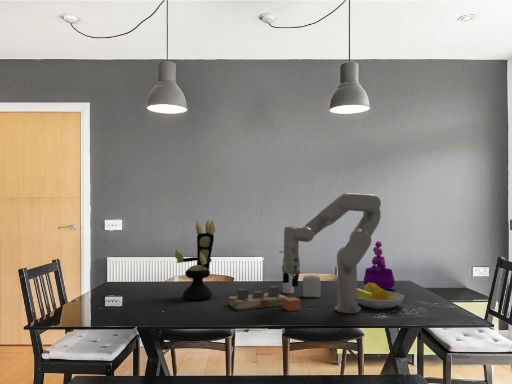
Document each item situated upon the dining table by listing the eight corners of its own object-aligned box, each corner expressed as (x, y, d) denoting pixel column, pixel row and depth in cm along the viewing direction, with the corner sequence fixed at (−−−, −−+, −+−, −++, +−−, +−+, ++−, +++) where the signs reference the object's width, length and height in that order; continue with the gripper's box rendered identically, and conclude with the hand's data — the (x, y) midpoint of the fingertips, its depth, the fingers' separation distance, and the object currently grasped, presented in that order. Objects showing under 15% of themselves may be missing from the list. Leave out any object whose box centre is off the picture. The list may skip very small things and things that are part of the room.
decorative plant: (399, 292, 242) (398, 242, 243) (368, 292, 243) (367, 242, 244) (389, 286, 261) (388, 240, 262) (360, 286, 261) (360, 240, 263)
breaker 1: (248, 300, 209) (248, 289, 209) (240, 301, 207) (240, 290, 207) (244, 298, 213) (244, 288, 213) (237, 299, 211) (237, 289, 211)
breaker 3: (279, 297, 216) (278, 287, 216) (271, 298, 214) (271, 287, 214) (275, 295, 220) (275, 285, 220) (268, 296, 218) (268, 286, 218)
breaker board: (288, 305, 212) (288, 296, 212) (238, 310, 201) (238, 301, 201) (276, 299, 225) (276, 290, 226) (229, 304, 214) (229, 295, 214)
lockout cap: (300, 309, 203) (300, 299, 203) (289, 311, 200) (289, 301, 200) (294, 306, 209) (294, 297, 209) (283, 308, 206) (283, 298, 206)
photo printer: (320, 295, 234) (320, 274, 234) (321, 297, 230) (320, 275, 230) (302, 295, 235) (302, 274, 235) (302, 297, 231) (302, 275, 231)
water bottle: (294, 291, 246) (294, 250, 247) (292, 293, 239) (292, 251, 240) (280, 290, 248) (280, 250, 249) (278, 293, 242) (278, 251, 243)
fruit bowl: (407, 303, 215) (407, 282, 216) (397, 315, 192) (397, 291, 192) (356, 297, 229) (356, 277, 230) (340, 308, 206) (340, 285, 206)
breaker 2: (263, 302, 212) (263, 292, 212) (256, 303, 211) (256, 292, 211) (260, 300, 216) (260, 290, 217) (252, 301, 215) (252, 291, 215)
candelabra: (173, 299, 226) (174, 219, 228) (197, 292, 246) (197, 218, 247) (201, 303, 217) (201, 219, 219) (223, 295, 237) (223, 218, 238)
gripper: (306, 252, 199) (305, 287, 199) (289, 248, 215) (288, 281, 214) (292, 253, 196) (291, 288, 196) (276, 249, 212) (276, 281, 211)
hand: (290, 284), depth 205 cm, fingers open, 9 cm apart
